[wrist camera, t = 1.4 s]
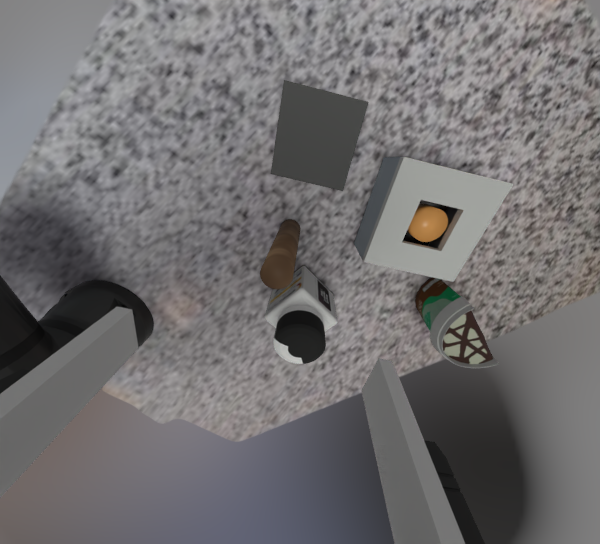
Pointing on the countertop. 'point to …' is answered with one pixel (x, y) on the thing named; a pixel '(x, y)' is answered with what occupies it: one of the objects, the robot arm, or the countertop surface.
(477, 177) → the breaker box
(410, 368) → the countertop surface
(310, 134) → the pad
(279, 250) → the stylus
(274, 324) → the container
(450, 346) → the food container
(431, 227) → the button
